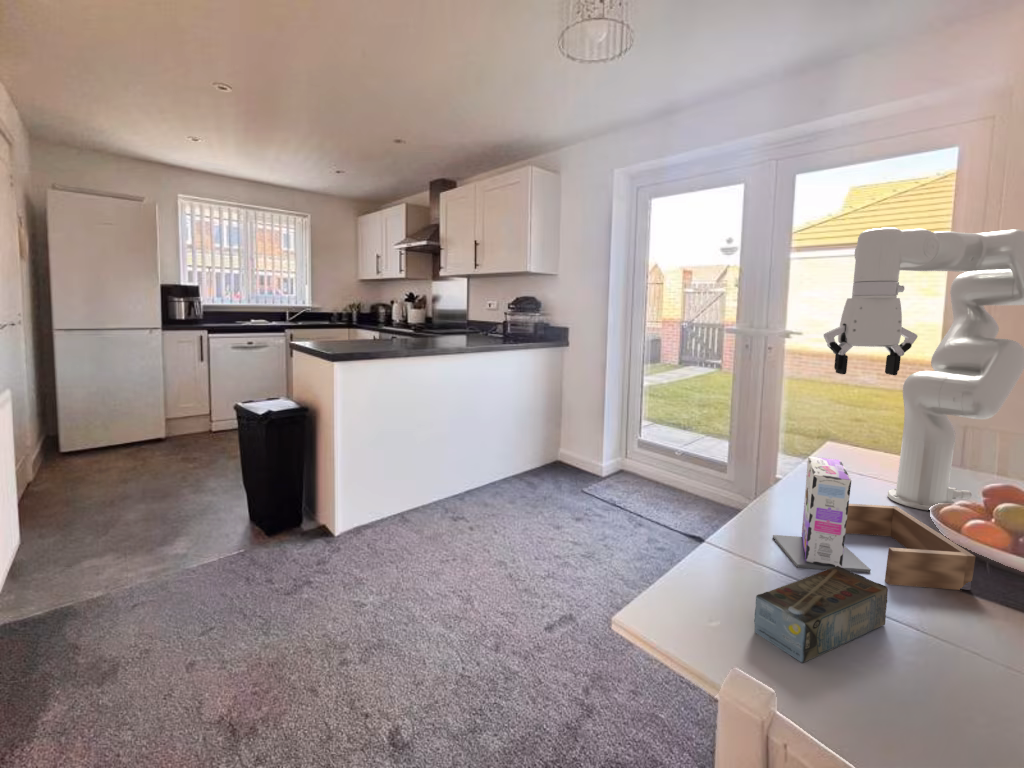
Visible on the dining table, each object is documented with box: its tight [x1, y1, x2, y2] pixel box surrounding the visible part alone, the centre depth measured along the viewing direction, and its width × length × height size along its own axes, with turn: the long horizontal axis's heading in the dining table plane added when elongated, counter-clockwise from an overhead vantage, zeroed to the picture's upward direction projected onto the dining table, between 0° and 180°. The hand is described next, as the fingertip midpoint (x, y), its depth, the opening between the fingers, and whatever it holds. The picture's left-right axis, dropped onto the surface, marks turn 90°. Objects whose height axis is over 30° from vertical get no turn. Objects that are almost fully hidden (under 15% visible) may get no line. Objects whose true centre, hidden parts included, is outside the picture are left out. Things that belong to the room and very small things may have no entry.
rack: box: [845, 503, 976, 591], centre depth 93 cm, size 12×21×6 cm, turn 171°
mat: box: [772, 534, 872, 574], centre depth 95 cm, size 12×12×1 cm
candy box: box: [801, 456, 852, 568], centre depth 94 cm, size 14×6×16 cm, turn 153°
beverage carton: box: [753, 566, 889, 664], centre depth 72 cm, size 8×19×7 cm, turn 116°
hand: (865, 374), depth 106 cm, fingers open, 9 cm apart
